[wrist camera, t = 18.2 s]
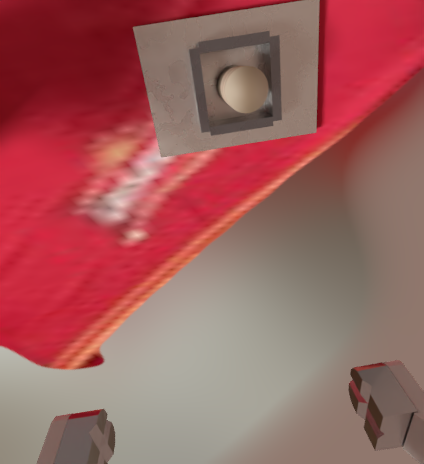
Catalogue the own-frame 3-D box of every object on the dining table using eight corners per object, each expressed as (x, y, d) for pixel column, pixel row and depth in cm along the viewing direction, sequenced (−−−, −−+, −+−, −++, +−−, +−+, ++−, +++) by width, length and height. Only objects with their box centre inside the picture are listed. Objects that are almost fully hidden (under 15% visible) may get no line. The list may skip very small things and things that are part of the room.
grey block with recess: (161, 154, 41) (159, 165, 37) (134, 28, 34) (127, 23, 30) (312, 130, 41) (327, 138, 37) (314, 0, 34) (333, -9, 30)
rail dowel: (218, 105, 37) (228, 116, 30) (214, 68, 35) (223, 69, 28) (251, 100, 37) (269, 109, 30) (248, 62, 35) (267, 62, 28)
